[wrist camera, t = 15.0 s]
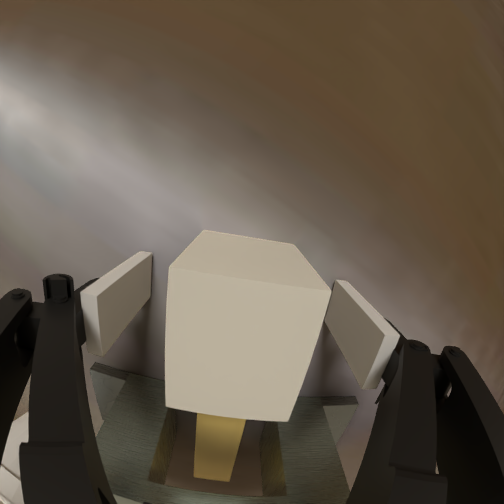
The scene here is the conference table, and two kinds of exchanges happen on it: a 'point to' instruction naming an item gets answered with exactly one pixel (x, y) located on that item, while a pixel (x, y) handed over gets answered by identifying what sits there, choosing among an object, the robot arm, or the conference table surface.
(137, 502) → the housing
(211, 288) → the plug
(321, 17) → the conference table surface
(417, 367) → the robot arm
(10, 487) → the cup
